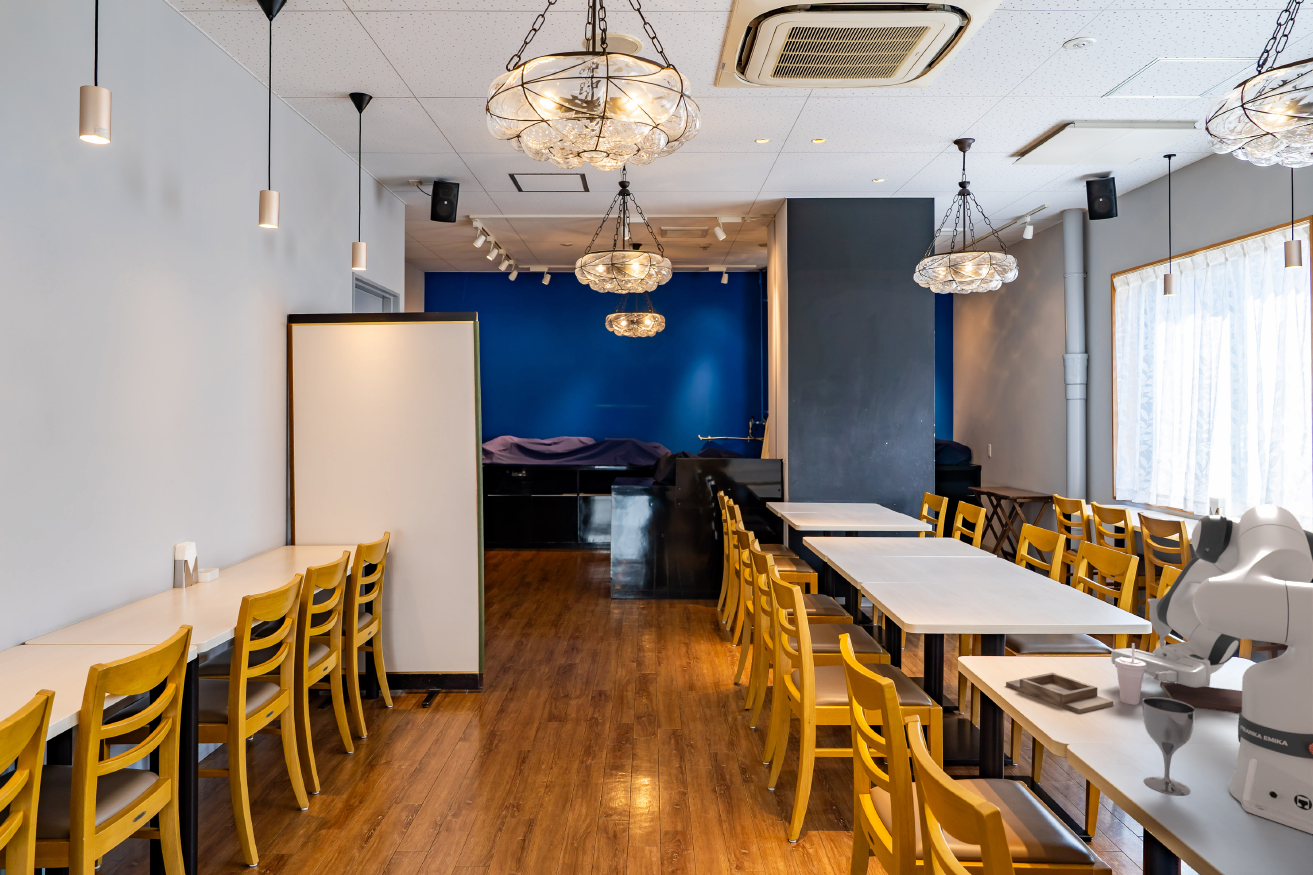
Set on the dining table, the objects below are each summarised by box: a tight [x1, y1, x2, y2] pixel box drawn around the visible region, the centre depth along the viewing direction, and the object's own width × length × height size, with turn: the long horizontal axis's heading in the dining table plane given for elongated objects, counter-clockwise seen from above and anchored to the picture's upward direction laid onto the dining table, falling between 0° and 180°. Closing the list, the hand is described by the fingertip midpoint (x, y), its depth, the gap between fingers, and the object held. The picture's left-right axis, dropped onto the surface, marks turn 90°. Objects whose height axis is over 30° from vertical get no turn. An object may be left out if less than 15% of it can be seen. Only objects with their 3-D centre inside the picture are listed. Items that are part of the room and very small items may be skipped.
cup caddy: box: [1005, 672, 1114, 714], centre depth 186 cm, size 20×12×3 cm, turn 25°
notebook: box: [1160, 681, 1242, 714], centre depth 183 cm, size 15×20×2 cm
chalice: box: [1147, 598, 1173, 647], centre depth 208 cm, size 7×7×18 cm
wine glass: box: [1141, 696, 1196, 796], centre depth 139 cm, size 8×8×15 cm
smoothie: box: [1115, 642, 1146, 705], centre depth 182 cm, size 6×6×14 cm
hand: (1137, 670), depth 183 cm, fingers open, 8 cm apart
